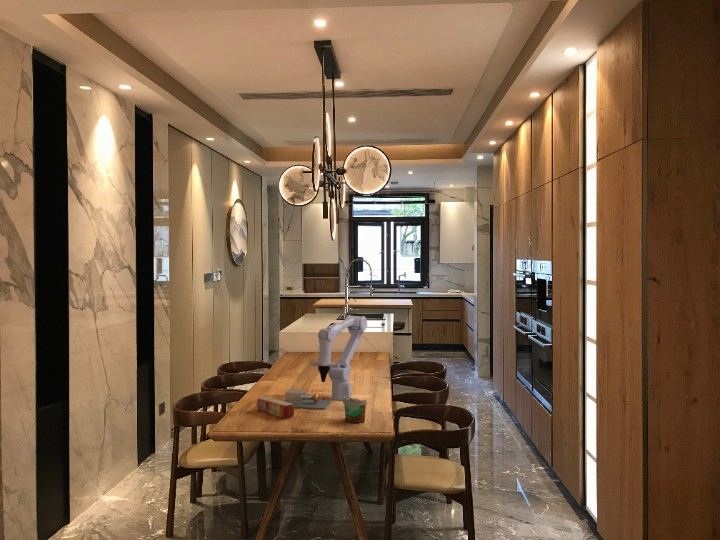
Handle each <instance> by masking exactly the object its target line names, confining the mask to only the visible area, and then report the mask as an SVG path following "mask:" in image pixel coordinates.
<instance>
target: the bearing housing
mask: <svg viewBox="0 0 720 540" xmlns="http://www.w3.org/2000/svg"><path fill="white" fill-rule="evenodd" d="M303 395H307V389H306V388H305V389H304V388H289V389H288V390H286V391H285V392H284V401H285V402H287V403H292V404H293V405H302V404H303V403H304V402H305V401H306V400H304V399H303Z"/></svg>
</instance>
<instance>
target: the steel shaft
mask: <svg viewBox="0 0 720 540" xmlns="http://www.w3.org/2000/svg"><path fill="white" fill-rule="evenodd" d="M303 399H304V400H314V402H316V403H318V402H319V400H320V394H319V392H314V394H306V395H303Z"/></svg>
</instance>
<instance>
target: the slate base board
mask: <svg viewBox="0 0 720 540" xmlns="http://www.w3.org/2000/svg"><path fill="white" fill-rule="evenodd" d="M332 401H333V400H332V399H319V402H318V403H316V402H314V400H306V401H305V402H304V403H303V404H302V405H293V406H294V409H299V408H303V409H304V410H305V409H306V410H318V409H321V410H322V411H323V410H326V409H327V408H328V407H329V405H331V404H332ZM283 402H285V400H284V401H283ZM327 406H328V407H327ZM326 407H327V408H326ZM303 409H302V410H303ZM321 410H320V411H321Z"/></svg>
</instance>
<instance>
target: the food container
mask: <svg viewBox="0 0 720 540" xmlns="http://www.w3.org/2000/svg"><path fill="white" fill-rule="evenodd" d="M342 403H343V405H344V415H345V422H346V423H348V424H351V425H352V424H353V425H354V424H355V425H359V423H361V424H365V423H364V422H366V420H365V419H366V409H367V408H366V406H367V405H368V402H367V399H363V400H360V399H359V398H354V397H353V398H352V397H350V398H349V397H348V395H347V396H345V397H344V399H343V400H342Z"/></svg>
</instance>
